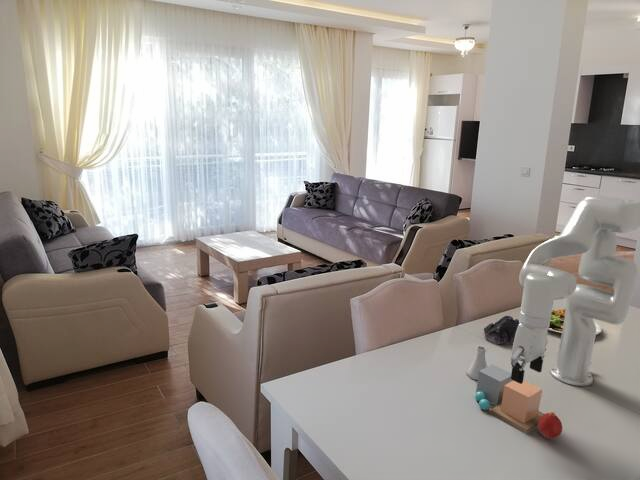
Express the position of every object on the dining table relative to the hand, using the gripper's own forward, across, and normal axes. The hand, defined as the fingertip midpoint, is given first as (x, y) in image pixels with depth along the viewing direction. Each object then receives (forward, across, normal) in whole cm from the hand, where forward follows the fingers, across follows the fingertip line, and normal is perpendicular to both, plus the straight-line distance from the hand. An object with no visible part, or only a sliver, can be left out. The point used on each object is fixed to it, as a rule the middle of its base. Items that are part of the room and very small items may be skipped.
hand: (526, 375), depth 132 cm
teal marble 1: (+10, +3, -10) cm, 15 cm away
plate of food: (+16, -75, -24) cm, 80 cm away
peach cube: (+11, +1, 0) cm, 11 cm away
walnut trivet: (+12, +1, 0) cm, 13 cm away
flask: (+13, -9, -20) cm, 25 cm away
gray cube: (+13, -2, -10) cm, 16 cm away
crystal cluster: (+14, -41, -32) cm, 54 cm away
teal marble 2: (+10, +6, -8) cm, 13 cm away
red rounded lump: (+13, +4, +10) cm, 16 cm away
